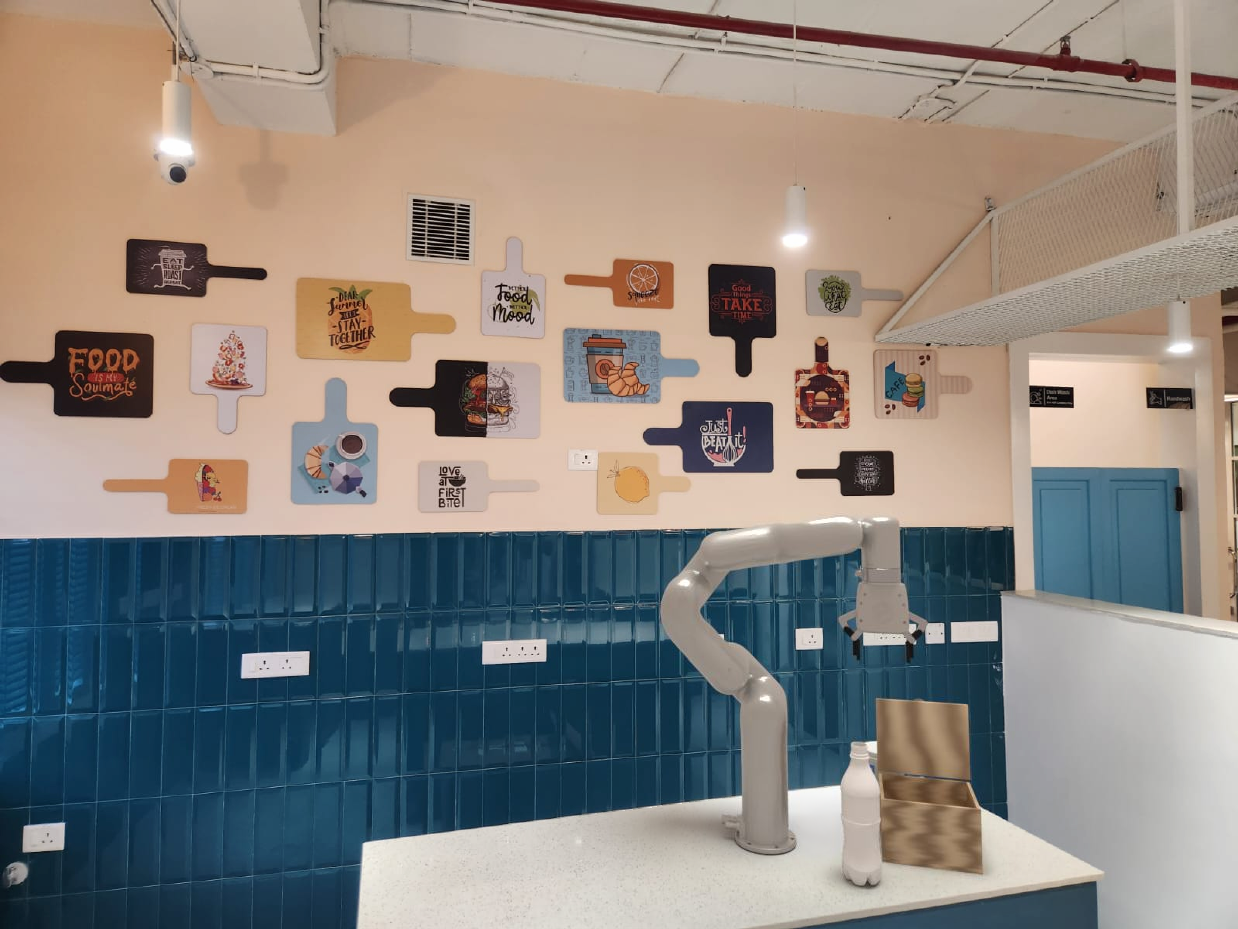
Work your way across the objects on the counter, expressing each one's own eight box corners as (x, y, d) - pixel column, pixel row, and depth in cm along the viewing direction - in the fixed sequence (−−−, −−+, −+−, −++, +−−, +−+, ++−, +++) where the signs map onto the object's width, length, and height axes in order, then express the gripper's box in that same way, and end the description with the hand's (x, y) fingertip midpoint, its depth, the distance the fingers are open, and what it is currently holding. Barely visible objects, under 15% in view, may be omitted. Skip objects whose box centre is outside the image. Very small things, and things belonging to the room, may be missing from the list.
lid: (876, 699, 165) (874, 692, 173) (877, 771, 164) (876, 761, 171) (967, 705, 160) (962, 698, 167) (970, 780, 158) (965, 769, 166)
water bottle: (884, 891, 138) (881, 751, 139) (843, 887, 139) (841, 749, 140) (879, 872, 145) (876, 739, 146) (840, 868, 146) (837, 737, 147)
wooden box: (882, 861, 149) (881, 799, 149) (879, 829, 163) (878, 773, 164) (982, 874, 144) (981, 810, 144) (970, 840, 158) (969, 781, 159)
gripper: (837, 577, 154) (838, 662, 154) (928, 579, 149) (930, 667, 149) (837, 573, 162) (839, 654, 161) (924, 575, 157) (926, 659, 156)
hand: (882, 660), depth 155 cm, fingers open, 9 cm apart
